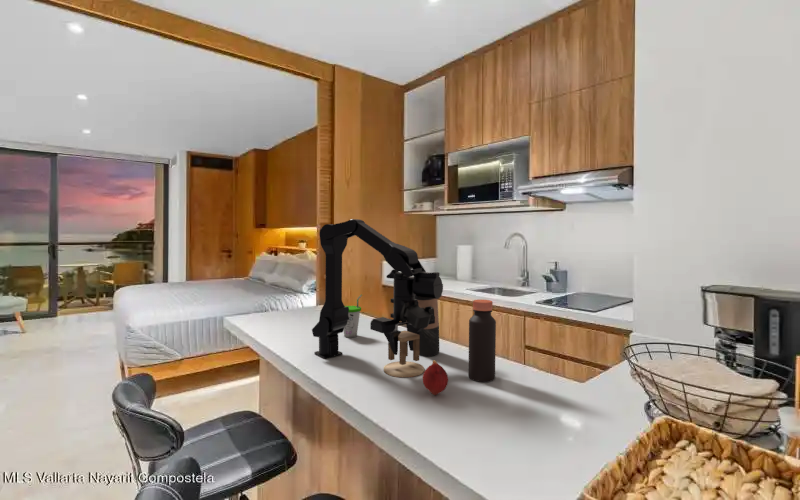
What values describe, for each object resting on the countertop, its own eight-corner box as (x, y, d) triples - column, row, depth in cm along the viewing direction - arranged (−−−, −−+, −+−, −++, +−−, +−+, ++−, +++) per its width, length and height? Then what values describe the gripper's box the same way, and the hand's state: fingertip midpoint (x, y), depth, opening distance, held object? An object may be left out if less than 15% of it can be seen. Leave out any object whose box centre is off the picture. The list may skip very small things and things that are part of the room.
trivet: (375, 369, 108) (375, 366, 107) (405, 360, 115) (405, 358, 115) (401, 380, 99) (401, 378, 99) (432, 371, 106) (432, 368, 106)
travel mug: (442, 347, 125) (439, 286, 122) (438, 357, 117) (434, 292, 115) (418, 346, 127) (415, 286, 124) (413, 356, 120) (409, 292, 117)
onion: (450, 391, 92) (450, 358, 92) (444, 401, 87) (445, 366, 87) (426, 388, 94) (426, 355, 94) (419, 397, 89) (419, 363, 88)
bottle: (497, 375, 103) (498, 299, 102) (492, 384, 97) (493, 304, 96) (472, 371, 106) (473, 298, 105) (465, 379, 100) (466, 302, 99)
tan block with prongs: (388, 359, 107) (388, 333, 107) (404, 354, 111) (405, 330, 111) (402, 365, 102) (402, 338, 102) (419, 360, 106) (419, 334, 106)
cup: (336, 338, 139) (336, 296, 138) (343, 332, 146) (343, 292, 146) (358, 339, 137) (358, 296, 137) (363, 333, 145) (363, 293, 144)
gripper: (396, 303, 94) (396, 367, 94) (449, 295, 106) (449, 353, 106) (369, 297, 102) (369, 356, 103) (421, 291, 114) (420, 344, 115)
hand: (403, 352), depth 107 cm, fingers closed on tan block with prongs, 5 cm apart
